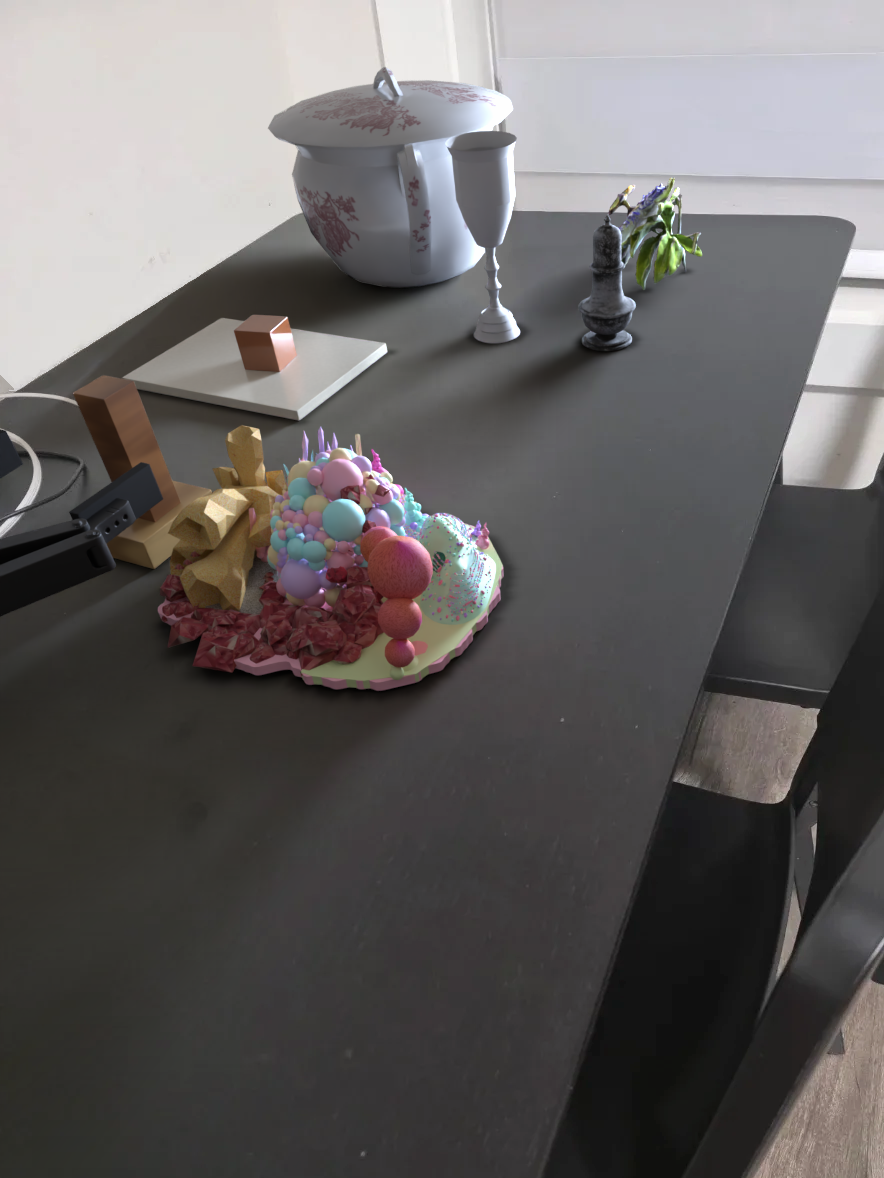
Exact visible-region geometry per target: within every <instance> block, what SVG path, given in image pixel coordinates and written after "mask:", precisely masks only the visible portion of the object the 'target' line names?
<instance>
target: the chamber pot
mask: <svg viewBox="0 0 884 1178" xmlns="http://www.w3.org/2000/svg"><path fill="white" fill-rule="evenodd" d="M513 110H514V107H513V103H512V100H511V98H510V97H508V96H507V95H505V94H503V93H501V92H499V91H497V90H494V89H489V88H486V87H483V86H480V85H474V84H470V83H466V82H457V81H456V82H455V81H444V80H443V81H441V80H431V79H430V80H427V79H426V80H425V79H424V80H423V79H422V80H420V79H419V80H415V79H414V80H411V79H410V80H397V79H396V77H395V75H394V73H393V71H392V70H391V69H390V68H388V67H386V66H383V67H382V68H380V69H379V70H378V71H376V74H375V76H374V79H373V82H372V83H366V84H360V85H353V86H350V87H345V88H340V89H335V90H331V91H327V92H324V93H321V94H320V93H319V94H318V95H315V96H311V97H309V98H305V99H302V100H300V101H299V102H296V103H295V104H293V105H290V106H288V107H286V108H285V109H284V110H281V111H279V112H278V113H276V114H275V115H274V116H273V117H272V119H271V121H270V123H269V125H268V127H267V130H269V132H270V133H271V134H272V135H273V136H274V138H276V139H277V140H279V141H281V142H285V143H287V144H290V145H293V146H294V147H295V149H296V150H297V152H296V156H295V161H294V165H293V169H292V172H291V177H292V181H293V187H294V190H295V195H296V199H297V202H298V204H299V206H300V209H301V212H302V214H303V217H304V219H305V222H306V224H307V226H308V230H309V231H310V234H311V235H312V236H313V238H314V239H315V240H316V242H318V244H319V245H320V247H321V248H322V249H323V250H324V251H325V253H326V254H327V255H328V256H329V258H330V259H331V260H332V262H333V263H334V264H335V265H336V267H338V269H339V270H340V271H341V272H342V273H344V274H345V275H346V276H347V277H349V278H351V279H353V280H356V281H357V282H359V283H362V284H363V283H364V284H368V285H373V286H378V287H384V288H389V289H411V288H422V287H427V286H433V285H437V284H439V283H443V282H445V281H448V280H452V279H453V278H456V277H458V276H460V275H463V274H464V273H466V272H468V271H469V270H471V269H473V268H474V267H475V266H476V264H478V262H479V261H480V259H481V258H482V257H483V256H484V255H485V254H486V252H485V248H483V247H480V246H478V245H477V244H476V242H475V240H474V238H473V237H472V235H471V233H470V231H469V229H468V227H467V225H466V223H465V221H464V219H463V216H462V214H461V211H460V209H459V206H458V204H457V201H456V194H455V184H454V174H453V165H452V156H451V154H450V152H449V150H448V148H447V146H446V145H445V143H446V141H447V140H448V139H450V138H451V137H454V136H457V135H460V134H464V133H469V132H477V131H493V129H494V126H496V125H498V124H500V123H502V121H504V119H506V118H507V117H508V116H509V115H510V114H511V113H512V111H513Z"/></svg>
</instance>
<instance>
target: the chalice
mask: <svg viewBox="0 0 884 1178" xmlns="http://www.w3.org/2000/svg"><path fill="white" fill-rule="evenodd" d="M517 139H518V137H517V136H516V134H513V133H510V132H506V131H501V130H492V131H477V132H469V133H464V134H460V135H457V136H454V137H451V138H450V139H448V140H447V141H446V143H445V145H446V146H447V148H448V150H449V152H450V154H451V156H452V165H453V174H454V184H455V194H456V201H457V204H458V206H459V209H460V211H461V214H462V216H463V219H464V221H465V223H466V225H467V227H468V229H469V231H470V233H471V235H472V237H473V238H474V240H475V242H476V244H477V245H478V246H480V247H483V248H485V255H486V257H485V258H486V259H485V265H484V267H483V269H484V270H485V272H486V275H487V277H488V278H487V283H486V284H485V285H484V289H486V291H487V292H488V296H489V304H488V305H487V307H486V308H484V309H483V310H481V312H480V314H479V315H478V320H477V323H476V329H475V331H474V333H473V337H474V339H476V340H477V341H479V342H482V343H486V344H501V343H507V342H509V341H513V340H514V339H517V338H518V337H519V336H520V335H521V330H520V328H519V327H518V325H517V321H516V319H515V318H514V317H513V316H514V315H513V313H512V311H511V310H510V309H509V308H508V307H504V306H503V305H502V304H501V303H500V300H499V291H500V290H501V288H502V284H501V283H500V282H499V280H498V277H497V275H498V270H499V269H500V265H499V264H498V263H497V259H496V256H495V254H496V248H497V247H499V246H500V245H502V244H503V242H504V239H505V236H506V233H507V230H508V227H509V224H510V222H511V219H512V214H513V209H514V208H513V207H514V206H515V205H514V203H515V199H516V186H515V172H514V171H515V170H514V169H515V168H514V149H515V145H516V143H517Z"/></svg>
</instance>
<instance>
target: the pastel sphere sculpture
mask: <svg viewBox="0 0 884 1178" xmlns="http://www.w3.org/2000/svg"><path fill="white" fill-rule="evenodd" d="M324 438H325V437H324V430H323V428H322V426H319V428H318V429H317V440H318V449H319V452H318V453H317V452H315V454H316V455H314V449H312V450H311V453H310V460H308V457H309V438H308V437H307V434H306V431H305V430H303V432H302V440H301V448H302V456H301V457H302V458H300V457H298V462H297V463H295V464H294V465H292V466H291V467H290V470H289V468H288V467H287V466H286V463H283V468H284V470H283V469H277V470H271V471H270V470H269V471H266V467H265V464H264V459H265V458H264V450H263V441H262V436H261V431H260V428H256V427H252V426H247V425H243V424H241V425H239V426H238V427H236V428H234V429H233V430H231V431H229V432H228V433H227V434H226V436H225V439H224V443H225V447H226V451H227V455H228V458H229V460H230V462H231V464H232V466H233V467H229V466H228V467H227V466H218V467H213V468H212V472H213V474H214V476H215V479H216V481H217V482H218V484H219V486H220V488H216V489H215V490H214V491H212V493H211V494H210V495H209V496H205V497H200V498H197V499H196V500H194V501H193V502H192V503H190V504H189V505H188V506H186V507H185V508H183V509H182V510H181V512H180V513H179V514H178V516H177V517H176V518H175V520H174V521H173V523H172V525H171V527H170V530H169V532H168V534H170V535H172V536H174V537H176V538H178V539H180V541H179V542H178V543H177V544H176V545H175V547H174V548H173V551H172V555H171V556H170V560H169V569H170V574H167V575H166V577H165V578H166V579H164V582H163V583H162V585H161V586H160V588H159V596H161V597H163V598H165V599H164V601H163V603H161V604H159V606H158V607H157V613H158V615H159V617H160V618H159V619H160V620H161V621H162V622H163V623H165V624H167V625H169V626H170V632H169V635H168V636H169V637H168V641H167V649H169V648H172V647H175V646H179V645H182V644H185V643H189V642H192V641H195V640H197V639H198V638H200V637H201V638H200V641H199V644H198V647H197V650H196V652H195V653H196V654H195V656H194V658H193V659H194V660H193V663H192V667H196V668H200V669H201V668H202V669H207V670H214V671H221V672H226V673H231V674H233V672H235V671H234V670H235V669H237V670H241V671H243V672H245V673H248V674H249V673H250V674H252V675H254V676H262V675H263V676H264V675H267V674H271V673H275V672H281V671H288V670H290V671H292V674H293V675H294V676H295V677H298V678H302V680H303V683H305V684H306V685H308V686H312V685H321V686H323V687H327V688H330V689H332V690H343V689H347V688H356V689H358V690H366V689H368V690H369V689H371V690H374V691H376V692H379V691H380V692H381V691H386V690H391V689H394V688H398V687H403V686H408V685H412V684H415V683H419V682H420V681H422V680H423V679H424V678H425V677H426V676H428V675H431V674H434V673H435V674H436V673H438V672H441V671H443V670H444V669H445V668H446V666H447V665H448V664H449V663H450V662H451V660H453V659H454V658H456V657H459V656H461V655H462V654H463V653H464V651H465V650H466V649H467V648H468V647H469V646H470V644H471V643H472V642H473V641H474V635H475V633H476V632H478V631H481V630H482V629H483V628H484V626H486V625H487V624H488V622H489V616H490V614H491V613H492V611H493V610H494V609H495V608H496V607H497V605H498V603H500V602H501V598H502V597H501V589H500V588H501V587H502V579H503V578H504V574H505V573H504V564H503V562H502V560H501V558H500V556H499V554H498V553H497V550H496V549H495V547H494V545H493V543H492V541H491V539H490V537H489V535H490V531H489V529H488V528H487V525H488V524H487V521H486V522H484V524H483V528H482V525H481V522H480V520H478V521H477V523H476V524H475V525H471V524H469V523H464V521H462V519H460V518H459V517H457V516H455V515H453V514H450V513H448V512H436V513H434V514H431V515H429V514H428V513H422V511H421V510H422V505H421V504H420V503H419V502H417V501H415V498H414V497H413V496H414V494H413V493H412V492H411V491H409V490H408V489H407V487H406V486H404V489H403V487H402V486H401V485H400V484H397V483H395V484H394V483H393V482H394V479H393V476H392V474H390V473H389V471H388V470H387V469H385V468H384V467H382V463H381V458H380V457H379V453H376V452H375V450H374V448H371V454H372V457H373V458H372V459H373V460H372V461H370V459H369V458H367V457H366V456H364V455H363V452H362V450H363V448H362V441H361V434H359V433H355V434H354V440H355V451H354V449H353V447H352V445H350V448H349V449H348V448H345V447H339V446H338V444H339V442H338V440H337V437H336V434H335V432H333V433H332V440H331V446H330V444H329V441H326V449H325V439H324ZM314 456H315V457H314ZM284 472H285V473H286V476H285V474H284Z"/></svg>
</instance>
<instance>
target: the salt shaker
mask: <svg viewBox="0 0 884 1178" xmlns="http://www.w3.org/2000/svg"><path fill="white" fill-rule="evenodd" d="M611 220H612V219H611V218H610V215H609V214H606V215H605V216H604V219H603V221H604V223H603V224H602V225H600V226H598V227H597V228H596V229H595V230H594V232H593V234H592V262H591V263H590V264H589V267H588V268H589V270H590V271H591V272H592V273H591V275H592V276H591V277H592V278H591V279H592V283H591V284H592V287H591V292H590V296H588V297H587V298H584V299H583V300H581V301H580V303H579V304H578V306H577V307H578V311H579V312H580V313H581V319H582V321H583V323H584V325H585V327H586V328H587V329H588V330H589V331H588V332H586V333H585V334H584V335H583V336H582V338H581V343H582V345H583V346H584V347H586V348H588V349H589V350H593V351H597V352H599V351H600V352H611V351H618V350H622V349H624V348H626V347H628V346H629V345H631V343H632V342H633V337H632V336H631V335H632V334H630V333H629V332H627V331H626V330H625V329H626V328H627V327H628V326H629V325H630V323H631V320H632V317H633V312H634V311H635V309H636V307H637V306H636V305H637V304H636V302H635V301H634V300H633V299H632V298H631V297H628V296H625V294H624V291H623V285H622V284H623V270H624V269H625V268H626V265H625V264H624V263H623V262H622V261H621V243H622V235H621V231H620V230H619V228H618V226H616V225H613V224H612V223H611Z"/></svg>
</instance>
